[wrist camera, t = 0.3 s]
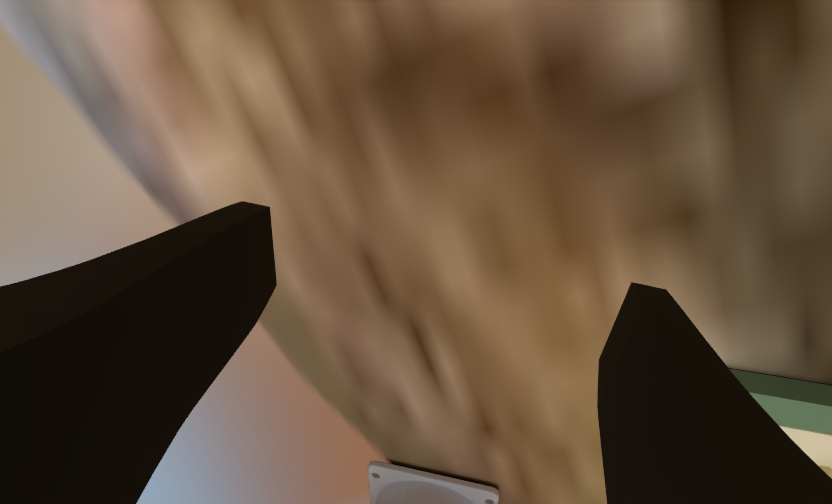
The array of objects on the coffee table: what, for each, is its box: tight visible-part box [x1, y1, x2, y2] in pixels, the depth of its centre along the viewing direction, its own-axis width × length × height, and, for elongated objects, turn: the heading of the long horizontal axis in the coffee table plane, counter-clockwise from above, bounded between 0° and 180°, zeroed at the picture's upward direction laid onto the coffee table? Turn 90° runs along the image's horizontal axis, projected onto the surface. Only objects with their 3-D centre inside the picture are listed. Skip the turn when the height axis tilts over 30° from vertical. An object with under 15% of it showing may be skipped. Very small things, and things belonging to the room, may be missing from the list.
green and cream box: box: [730, 369, 832, 478], centre depth 21 cm, size 8×10×5 cm
